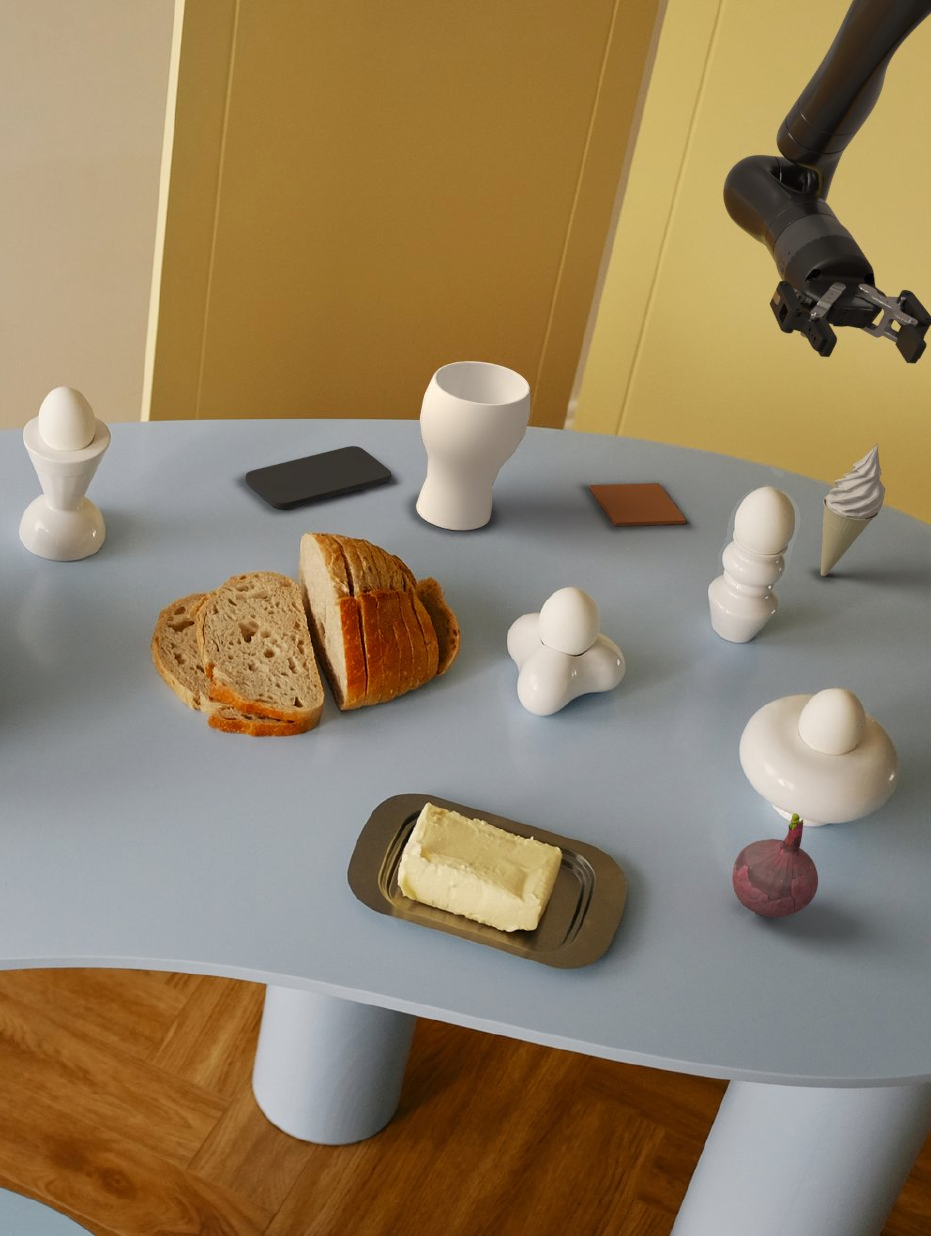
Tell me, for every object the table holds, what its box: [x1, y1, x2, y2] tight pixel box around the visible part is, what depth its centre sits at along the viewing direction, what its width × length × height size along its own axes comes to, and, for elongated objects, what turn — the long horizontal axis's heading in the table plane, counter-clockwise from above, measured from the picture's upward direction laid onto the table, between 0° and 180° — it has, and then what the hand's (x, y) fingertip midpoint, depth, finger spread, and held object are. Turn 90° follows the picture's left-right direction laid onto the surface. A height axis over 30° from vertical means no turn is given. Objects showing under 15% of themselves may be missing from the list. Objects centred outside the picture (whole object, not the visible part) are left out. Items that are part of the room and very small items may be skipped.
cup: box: [415, 360, 531, 531], centre depth 170 cm, size 11×11×15 cm
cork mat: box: [589, 482, 687, 527], centre depth 176 cm, size 8×8×1 cm
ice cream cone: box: [820, 443, 886, 577], centre depth 161 cm, size 5×5×15 cm
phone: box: [245, 445, 392, 509], centre depth 179 cm, size 7×1×15 cm
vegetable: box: [731, 812, 819, 918], centre depth 126 cm, size 6×6×10 cm
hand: (873, 352), depth 160 cm, fingers open, 8 cm apart
